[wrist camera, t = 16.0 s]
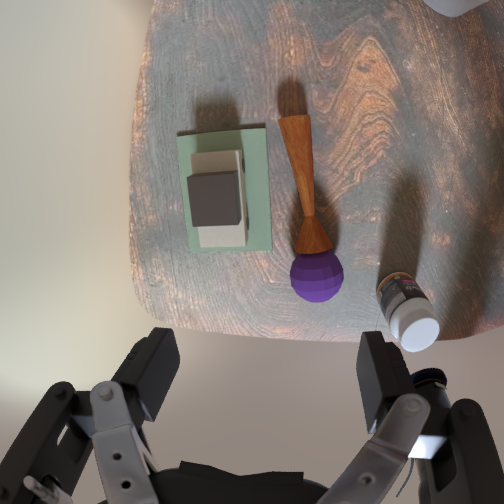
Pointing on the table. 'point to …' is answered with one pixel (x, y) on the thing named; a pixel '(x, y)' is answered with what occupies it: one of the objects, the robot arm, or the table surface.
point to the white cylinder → (453, 6)
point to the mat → (254, 182)
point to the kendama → (309, 220)
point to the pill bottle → (407, 311)
